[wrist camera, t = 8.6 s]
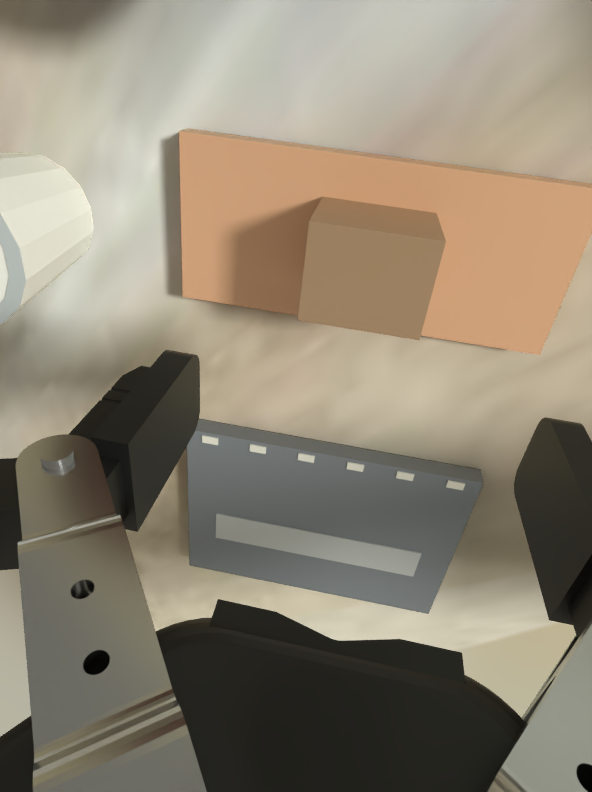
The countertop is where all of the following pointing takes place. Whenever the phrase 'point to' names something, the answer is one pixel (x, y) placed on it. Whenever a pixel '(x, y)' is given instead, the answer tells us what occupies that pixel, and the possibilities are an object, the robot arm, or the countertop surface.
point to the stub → (378, 240)
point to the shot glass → (38, 227)
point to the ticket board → (325, 514)
